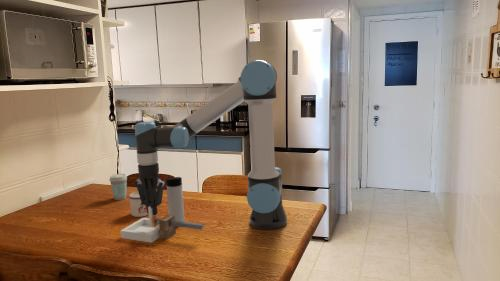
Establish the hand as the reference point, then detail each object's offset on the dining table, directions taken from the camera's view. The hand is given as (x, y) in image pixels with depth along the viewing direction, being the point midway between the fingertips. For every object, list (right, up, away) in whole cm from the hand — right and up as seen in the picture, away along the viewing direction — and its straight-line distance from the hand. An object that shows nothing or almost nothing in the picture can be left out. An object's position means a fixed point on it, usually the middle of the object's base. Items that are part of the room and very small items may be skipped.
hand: (153, 222), depth 150 cm
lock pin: (+10, -1, -4) cm, 11 cm away
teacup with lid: (-11, -1, +25) cm, 27 cm away
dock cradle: (-3, -5, +2) cm, 6 cm away
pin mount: (+6, -5, -2) cm, 8 cm away
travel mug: (+7, -3, +11) cm, 13 cm away
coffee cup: (-29, +2, +47) cm, 55 cm away
